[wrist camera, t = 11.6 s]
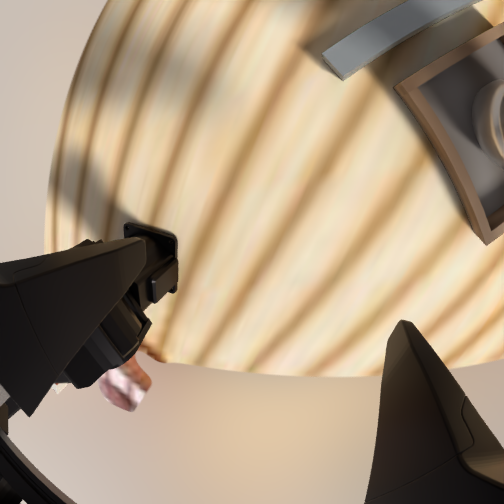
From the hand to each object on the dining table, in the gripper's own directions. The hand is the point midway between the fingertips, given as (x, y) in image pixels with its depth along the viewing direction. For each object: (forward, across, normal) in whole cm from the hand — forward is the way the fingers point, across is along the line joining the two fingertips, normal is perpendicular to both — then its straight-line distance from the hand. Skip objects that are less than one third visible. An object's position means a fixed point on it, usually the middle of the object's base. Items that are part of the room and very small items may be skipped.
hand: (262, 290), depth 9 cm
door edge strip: (+13, -6, -16) cm, 22 cm away
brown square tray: (+13, -13, -10) cm, 21 cm away
